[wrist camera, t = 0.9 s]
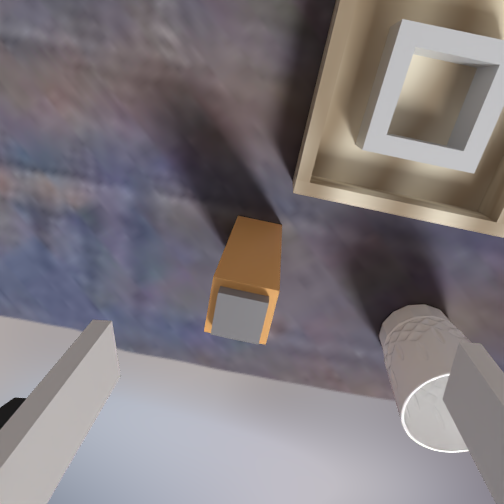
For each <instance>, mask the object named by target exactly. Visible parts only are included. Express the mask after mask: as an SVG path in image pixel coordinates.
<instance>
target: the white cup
mask: <svg viewBox="0 0 504 504" xmlns="http://www.w3.org/2000/svg"><path fill="white" fill-rule="evenodd" d="M379 338H380V342H381V346H382V349H383V353H384V362H385V365H386V370H387V374H388V377H389V380H390V384H391V387H392V391H393V395H394V398H395V402H396V405H397V408H398V412H399V415H400V419H401V423H402V426H403V428H404V430H405V432H406V433H407V434H408V436H409V437H410V438H411V439H412V440H414V441H415V442H416V443H418V444H420V445H421V446H424V447H426V448H429V449H431V450H435V451H441V452H464V451H469V450H468V448H467V446H466V444H465V442H464V440H463V438H462V437H461V435H460V433H459V431H458V429H457V427H456V425H455V423H454V421H453V419H452V417H451V415H450V413H449V411H448V409H447V407H446V405H445V403H444V401H443V395H444V392H445V388H446V385H447V382H448V378H449V375H450V371H451V368H452V364H453V361H454V358H455V354H456V351H457V347H458V344H459V342H463V343H471V342H470V341H469V340H468V338H466V337H465V336H464V334H463V333H462V332H461V331H460V330H459V329H458V328H456V327H455V326H454V324H453V323H452V322H451V321H450V320H449V319H448V318H447V316H446V315H445V314H444V313H443V312H442V311H441V310H440V309H437V308H434V307H431V306H428V305H426V304H420V305H407V306H405V307H403V308H401V309H398V310H396V311H394V312H392V313H391V315H390V316H389V317H388V318H387V319H386V320H385V321H384V322H383V323H382V327H381V330H380V334H379Z"/></svg>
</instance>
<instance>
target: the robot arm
mask: <svg viewBox="0 0 504 504" xmlns="http://www.w3.org/2000/svg"><path fill="white" fill-rule="evenodd" d="M120 376H121V375H120V368H119V363H118V356H117V350H116V344H115V337H114V331H113V325H112V321H105V320H92V321H91V323H90V324H89V325H88V326H87V327H86V329H85V330H84V331H83V332H82V333H81V335H80V336H79V337H78V338H77V339H76V340H75V342H74V343H73V344H72V345H71V346H70V348H69V349H68V350H67V351H66V352H65V354H64V355H63V356H62V357H61V359H60V360H59V361H58V362H57V363H56V364H55V365H54V367H53V368H52V369H51V370H50V371H49V373H48V374H47V375H46V376H45V377H44V379H43V380H42V381H41V382H40V383H39V384H38V386H37V387H36V388H35V389H34V390H33V391H32V393H31V394H30V395H29V396H28V397H27V398H13V399H12V400H10V401H9V402H8V403H6V404H5V405H3V406H2V407H1V408H0V504H47V503H48V501H49V499H50V498H51V496H52V494H53V492H54V491H55V489H56V487H57V485H58V484H59V482H60V480H61V479H62V477H63V475H64V473H65V472H66V470H67V468H68V467H69V465H70V463H71V461H72V460H73V458H74V456H75V454H76V452H77V451H78V449H79V447H80V446H81V444H82V442H83V441H84V439H85V437H86V435H87V434H88V432H89V430H90V428H91V427H92V425H93V423H94V422H95V420H96V418H97V416H98V415H99V413H100V411H101V409H102V408H103V406H104V404H105V402H106V400H107V399H108V397H109V396H110V394H111V392H112V390H113V389H114V387H115V385H116V383H117V382H118V380H119V378H120ZM443 401H444V403H445V405H446V407H447V409H448V411H449V413H450V415H451V417H452V419H453V421H454V423H455V425H456V427H457V429H458V431H459V433H460V435H461V437H462V438H463V440H464V442H465V444H466V446H467V448H468V450H469V452H470V454H471V456H472V458H473V460H474V462H475V464H476V466H477V468H478V470H479V472H480V474H481V475H482V477H483V479H484V481H485V483H486V485H487V487H488V489H489V491H490V493H491V495H492V497H493V499H494V501H495V503H496V504H504V373H503V372H502V370H501V369H500V368H499V366H498V365H497V364H496V363H495V361H494V360H493V359H492V357H491V356H490V355H489V354H488V352H487V351H486V350H485V348H484V347H483V346H482V345H481V344H480V343H463V342H459V344H458V347H457V351H456V354H455V358H454V361H453V364H452V368H451V371H450V375H449V378H448V382H447V385H446V388H445V392H444V395H443Z"/></svg>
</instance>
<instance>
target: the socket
mask: <svg viewBox="0 0 504 504" xmlns="http://www.w3.org/2000/svg"><path fill="white" fill-rule="evenodd" d="M413 54H414V55H419V56H424V57H428V58H433V59H438V60H443V61H447V62H452V63H457V64H462V65H466V66H471V67H476V68H477V70H476V73H475V75H474V78H473V80H472V83H471V85H470V88H469V90H468V93H467V95H466V98H465V100H464V103H463V105H462V108H461V110H460V113H459V115H458V118H457V120H456V123H455V125H454V128H453V130H452V133H451V136H450V138H449V141H448V143H447V146H446V145H441V144H437V143H432V142H427V141H422V140H418V139H413V138H408V137H404V136H399V135H394V134H389V133H387V132H388V129H389V126H390V123H391V120H392V117H393V114H394V111H395V108H396V105H397V102H398V99H399V96H400V93H401V90H402V87H403V84H404V80H405V77H406V74H407V71H408V68H409V65H410V62H411V59H412V56H413ZM503 107H504V40H500V39H496V38H491V37H486V36H481V35H476V34H472V33H467V32H462V31H457V30H453V29H448V28H443V27H438V26H434V25H429V24H424V23H419V22H415V21H410V20H405V19H402V20H400V21H399V22H397V23H396V24H394V25H393V26H391V27H390V29H389V33H388V36H387V39H386V43H385V46H384V49H383V53H382V56H381V59H380V63H379V66H378V70H377V73H376V76H375V80H374V83H373V86H372V90H371V93H370V96H369V100H368V103H367V106H366V110H365V113H364V117H363V120H362V123H361V127H360V130H359V133H358V137H357V140H356V143H355V145H356V146H358V147H359V148H360V149H362V150H365V151H369V152H374V153H379V154H383V155H388V156H393V157H398V158H402V159H407V160H412V161H416V162H421V163H426V164H431V165H435V166H440V167H445V168H449V169H454V170H459V171H464V172H468V173H473V174H474V173H475V171H476V168H477V166H478V164H479V161H480V159H481V157H482V155H483V152H484V150H485V148H486V146H487V143H488V141H489V139H490V136H491V134H492V132H493V130H494V127H495V125H496V123H497V120H498V118H499V116H500V114H501V111H502V109H503Z"/></svg>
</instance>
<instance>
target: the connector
mask: <svg viewBox="0 0 504 504" xmlns="http://www.w3.org/2000/svg"><path fill="white" fill-rule="evenodd" d="M281 238H282V225H280V224H275V223H271V222H266V221H261V220H257V219H252V218H247V217H242V216H238V217H237V219H236V222H235V224H234V227H233V229H232V232H231V234H230V237H229V239H228V242H227V244H226V247H225V249H224V252H223V254H222V257H221V259H220V262H219V264H218V267H217V269H216V272H215V274H214V277H213V282H212V288H211V294H210V300H209V306H208V311H207V317H206V323H205V329H204V332H209V333H211V335H216V336H220V337H225V338H230V339H234V340H239V341H244V342H248V343H253V344H258V345H259V343H260V344H265V345H266V341H267V337H268V333H269V330H270V326H271V322H272V318H273V314H274V310H275V306H276V302H277V299H278V295H279V289H280V263H281Z"/></svg>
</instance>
